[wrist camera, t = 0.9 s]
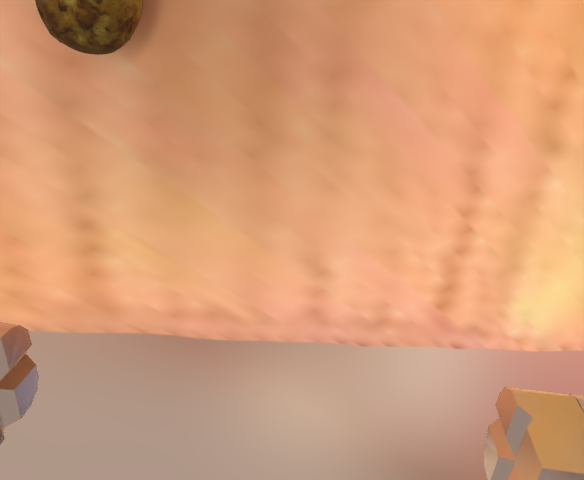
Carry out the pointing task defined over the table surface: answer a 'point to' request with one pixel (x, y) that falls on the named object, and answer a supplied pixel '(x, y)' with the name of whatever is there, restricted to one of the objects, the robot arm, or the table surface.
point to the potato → (91, 22)
